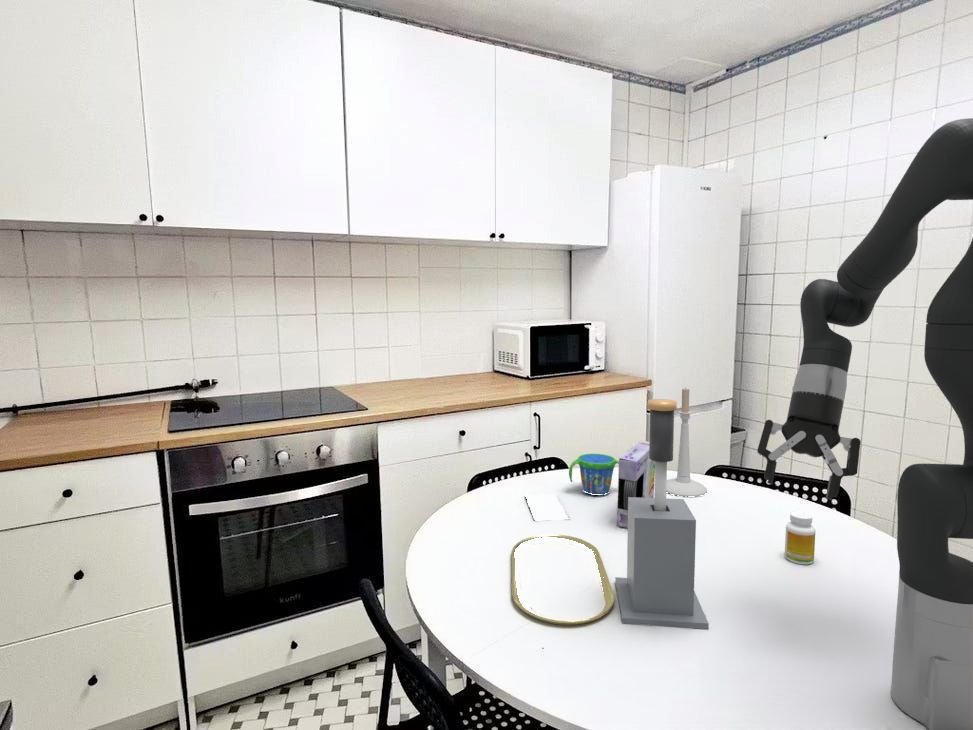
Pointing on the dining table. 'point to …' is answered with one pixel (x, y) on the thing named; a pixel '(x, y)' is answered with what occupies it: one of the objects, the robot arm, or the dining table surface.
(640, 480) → the cake pan box
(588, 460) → the snack cup
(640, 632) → the dining table surface
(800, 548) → the supplement bottle
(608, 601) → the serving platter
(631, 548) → the column
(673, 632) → the dining table surface
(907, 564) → the robot arm
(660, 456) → the plunger
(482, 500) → the dining table surface
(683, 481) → the candlestick
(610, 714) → the dining table surface
